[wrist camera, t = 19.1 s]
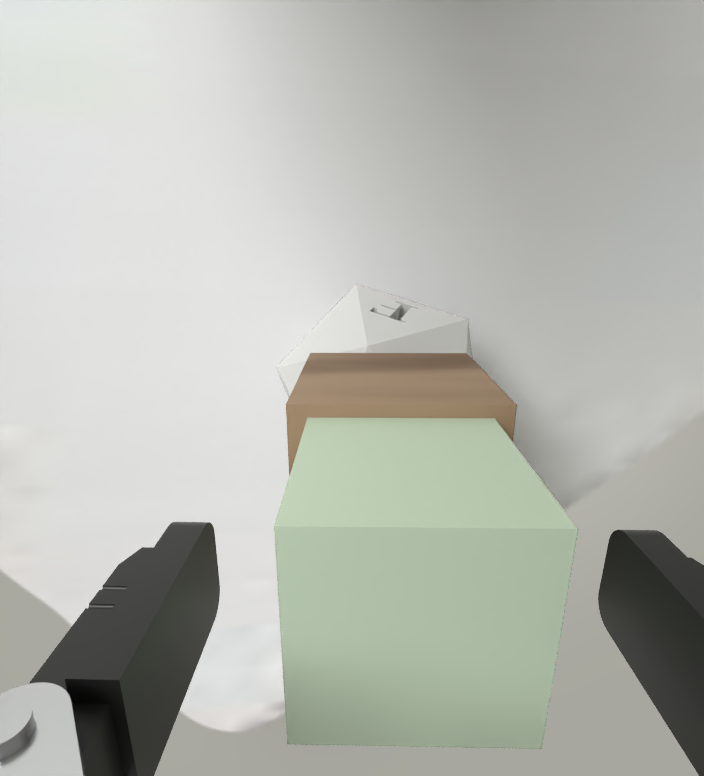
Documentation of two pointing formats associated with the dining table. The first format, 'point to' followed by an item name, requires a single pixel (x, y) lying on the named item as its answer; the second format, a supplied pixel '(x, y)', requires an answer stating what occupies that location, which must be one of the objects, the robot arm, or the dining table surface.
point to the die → (377, 331)
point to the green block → (419, 585)
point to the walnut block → (394, 390)
